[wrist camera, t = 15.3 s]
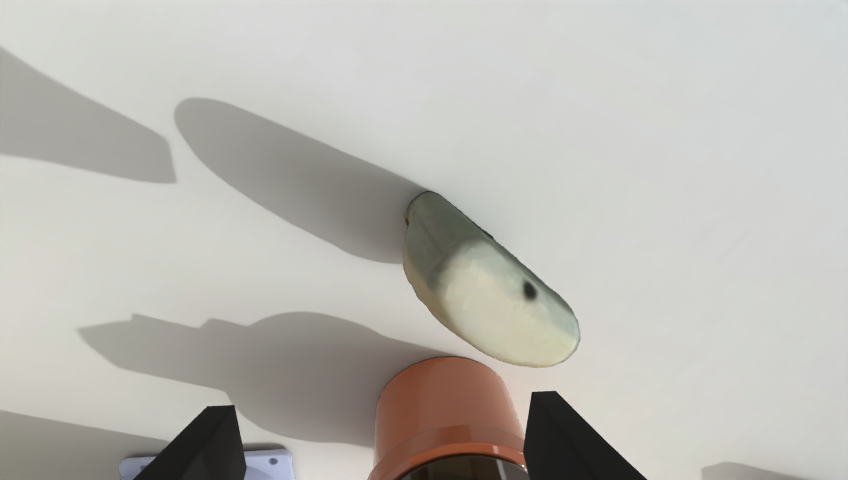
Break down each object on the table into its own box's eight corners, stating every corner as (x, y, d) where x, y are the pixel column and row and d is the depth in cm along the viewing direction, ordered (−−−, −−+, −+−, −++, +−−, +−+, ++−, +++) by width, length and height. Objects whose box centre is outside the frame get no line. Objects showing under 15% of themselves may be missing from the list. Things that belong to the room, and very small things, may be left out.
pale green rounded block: (527, 189, 18) (620, 259, 11) (505, 286, 20) (571, 402, 13) (407, 175, 18) (419, 241, 10) (395, 277, 20) (398, 395, 12)
